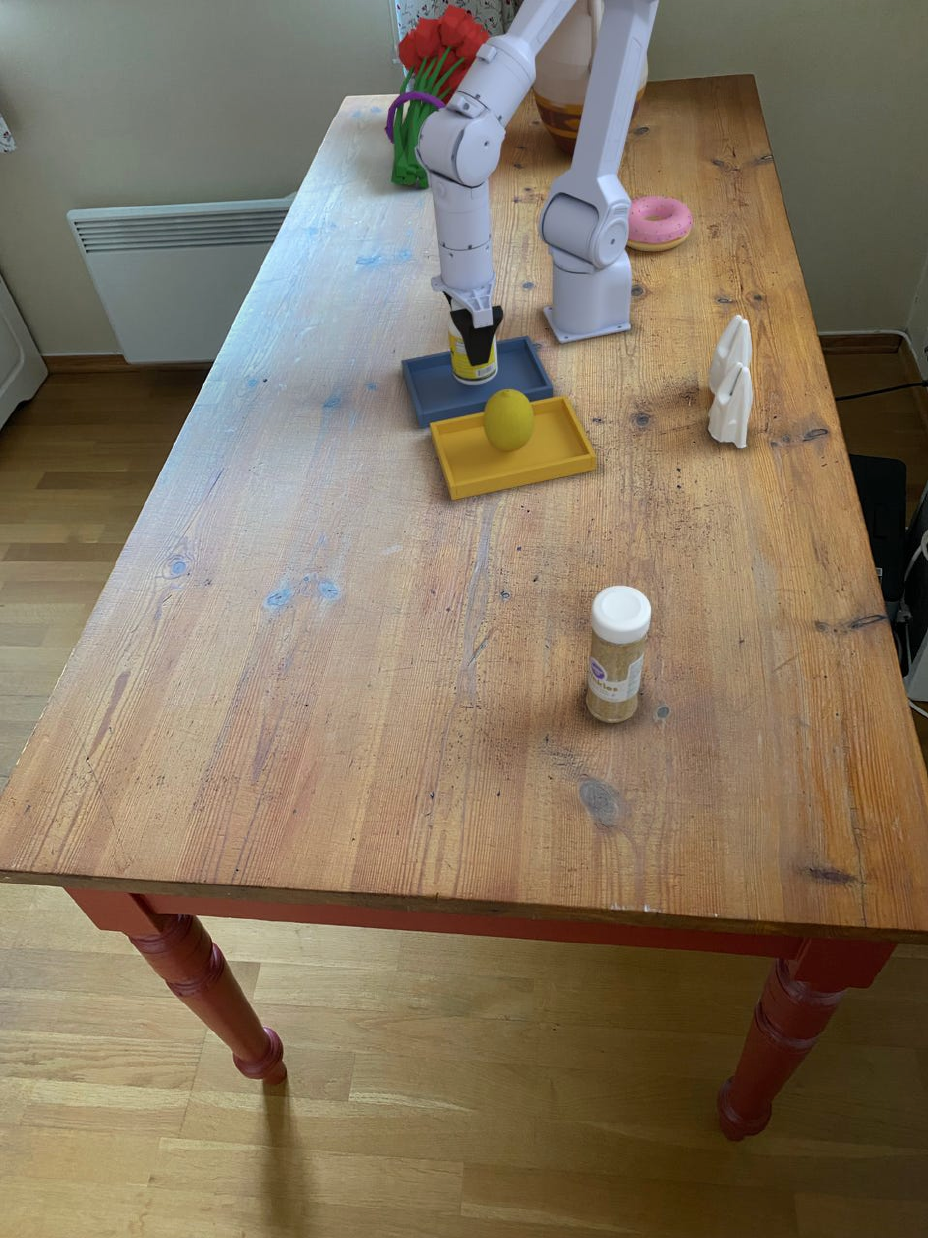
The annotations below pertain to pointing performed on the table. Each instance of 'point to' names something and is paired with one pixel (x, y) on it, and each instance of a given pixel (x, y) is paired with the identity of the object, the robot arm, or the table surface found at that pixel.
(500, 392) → the lemon
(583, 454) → the yellow tray
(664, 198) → the doughnut
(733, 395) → the shaker set
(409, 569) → the table surface
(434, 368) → the blue tray
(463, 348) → the supplement bottle
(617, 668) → the sprinkles bottle
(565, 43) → the jug
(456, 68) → the bouquet
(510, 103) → the robot arm
